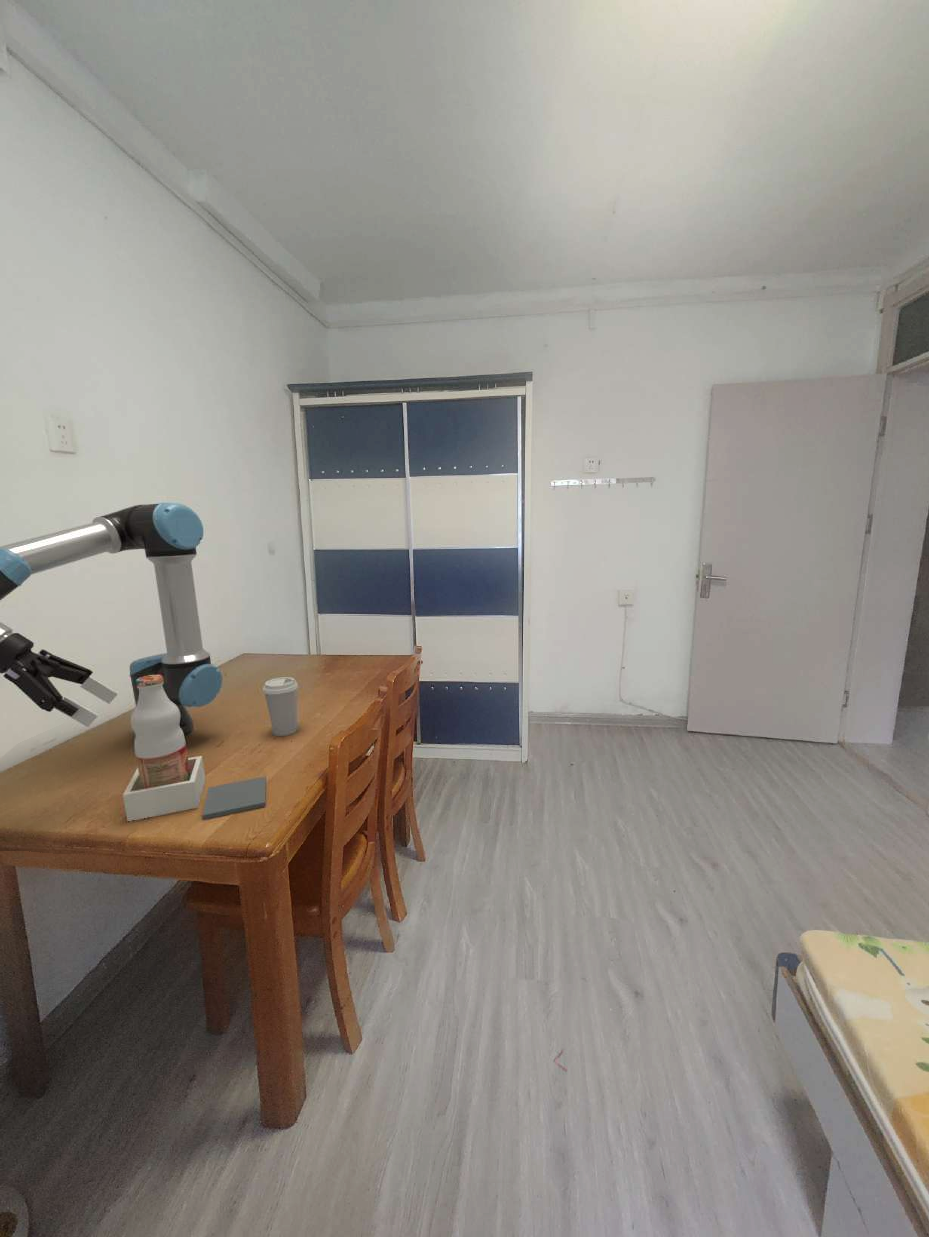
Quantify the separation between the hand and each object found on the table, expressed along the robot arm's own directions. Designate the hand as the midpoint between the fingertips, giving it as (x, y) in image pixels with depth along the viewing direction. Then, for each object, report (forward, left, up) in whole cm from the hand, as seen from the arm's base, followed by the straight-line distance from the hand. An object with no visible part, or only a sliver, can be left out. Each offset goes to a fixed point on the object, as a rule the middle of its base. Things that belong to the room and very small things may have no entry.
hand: (104, 709), depth 105 cm
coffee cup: (-29, +34, -23) cm, 50 cm away
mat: (+5, +23, -23) cm, 33 cm away
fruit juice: (-1, +9, -23) cm, 25 cm away
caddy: (-1, +9, -23) cm, 24 cm away
